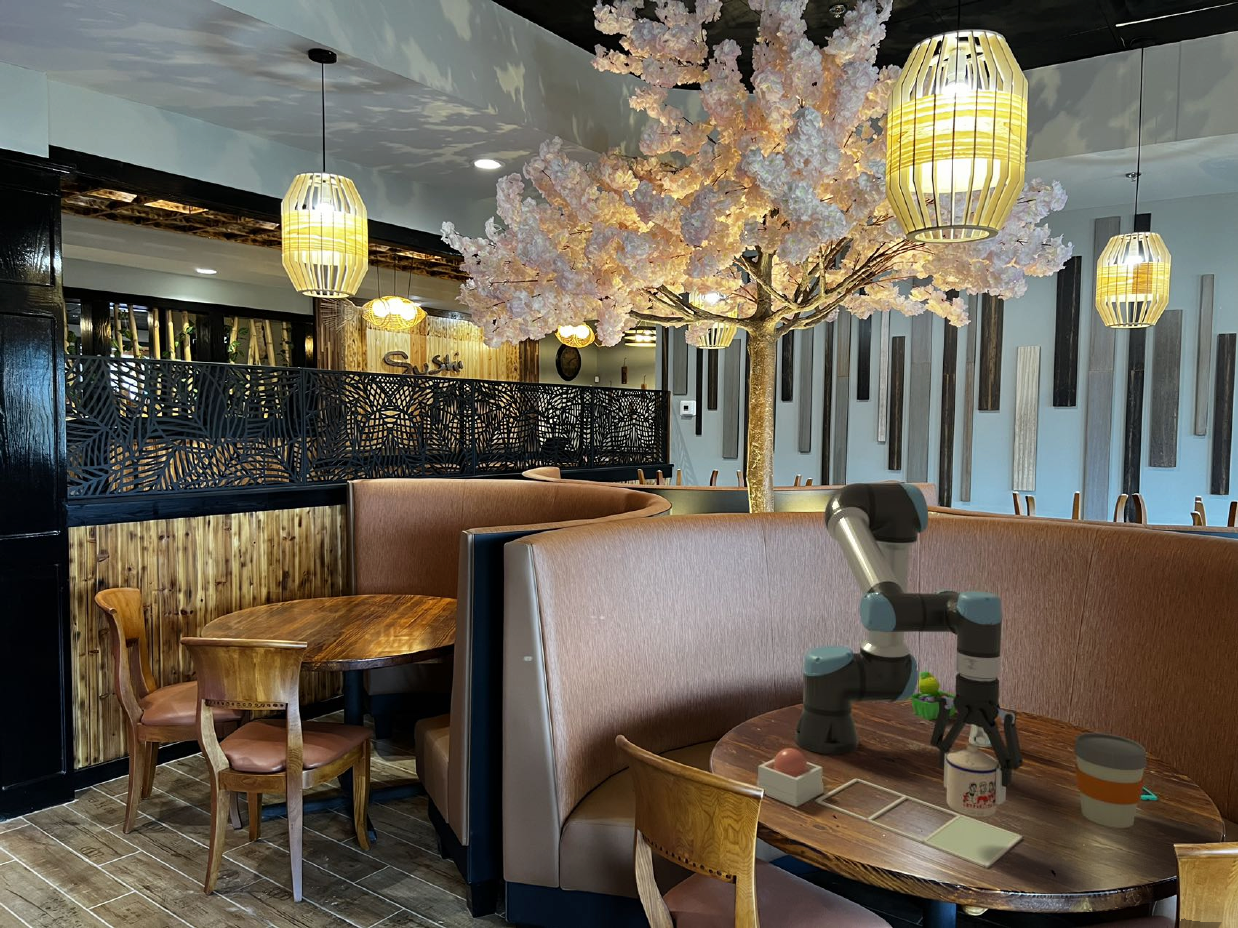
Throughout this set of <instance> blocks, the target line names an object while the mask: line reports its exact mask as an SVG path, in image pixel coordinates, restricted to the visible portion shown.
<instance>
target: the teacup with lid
mask: <svg viewBox="0 0 1238 928" xmlns="http://www.w3.org/2000/svg"><path fill="white" fill-rule="evenodd" d="M979 748H980V747H978V746H977V745H974V744H971V743H969V744H967V745H966V748H962V749H958V750H953V751H952V752H950V753H949V754H948V755H947V758H946V760H947V762H948V767H947V788H946V804H947V805H948V806H949V808H951V809H953V810H954V811H956V813H959V814H960V813H961V814H962V815H963V814H964V815H965V816H971V817H972V816H973V817H989V816H992V815H994V814H995V813H996V811H997V809H998V808H997V807H998V804H995V799H996V771H997V768H998V767H1000V764H999V761H998V759H997V758H996V757H995V758H994V757H993V756H992V755H989V754H987V753H985V752H983V751H982V750H980V749H979Z"/></svg>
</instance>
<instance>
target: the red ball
mask: <svg viewBox="0 0 1238 928" xmlns="http://www.w3.org/2000/svg"><path fill="white" fill-rule="evenodd" d="M773 759H774V770H776V771H779V772H781V773H784V774H787V775H789V776H792V777H795V778H796V777H798V776H800V775H802V774H804V773H806V772H807V762H808V761H807V759H806V758H805V756H804V754H803V753H801V752H800V751H799V750H797V749H795V748H791V747H788V748H783V749H781V750H780V751H778V753H776V756H775V757H774V758H773Z"/></svg>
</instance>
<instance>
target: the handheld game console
mask: <svg viewBox="0 0 1238 928" xmlns="http://www.w3.org/2000/svg"><path fill="white" fill-rule="evenodd" d="M1141 799H1142V800H1141V801H1147V800H1148V799H1149V800H1148V801H1158V797H1157V796H1156V795H1155V794H1154V793H1152V792H1151V791H1150V790H1148V789H1147V788H1145V787H1144V786H1143V790H1142V795H1141Z"/></svg>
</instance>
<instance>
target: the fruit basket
mask: <svg viewBox="0 0 1238 928" xmlns="http://www.w3.org/2000/svg"><path fill="white" fill-rule="evenodd" d="M940 687H941V686H940V682H939V681H938V679H937V678H936V677H935V676H934V675H933V674H932V673H931V672H929V671H928V670H927V671H926V670H924V671H921V672H920V674H919V681H918V690H919V691H920V693H913V695H912V696H911V697H910V698H909V699H910V700H911V703H912V708H913V712H914V715H917V716H919V717H920V718H922V719H925V720H927V721H930V720H937V716H938V712H939V699H940V698H942V697H944V696H946V695H947V696H949V697H950V698H955V696H956V695H953V694H951V693H949V692H946V691H942V690H939V689H940ZM956 711H957V709H956V708H955V706H954V704H953V707H952V708H951V710H950V714H949V718H950V717H954V716H955V712H956Z"/></svg>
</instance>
